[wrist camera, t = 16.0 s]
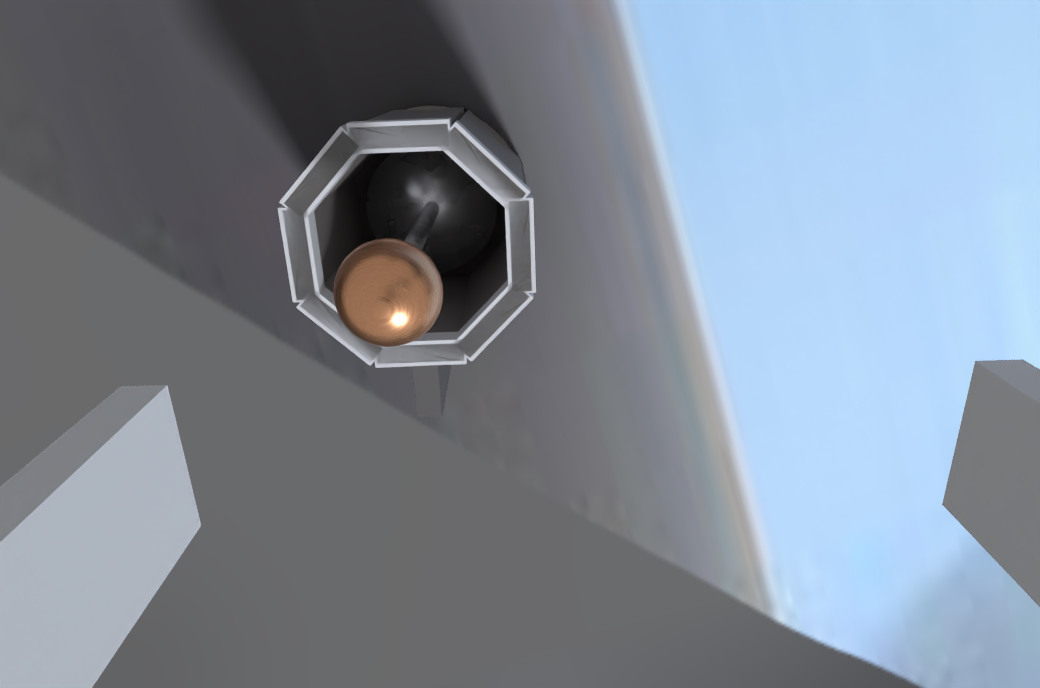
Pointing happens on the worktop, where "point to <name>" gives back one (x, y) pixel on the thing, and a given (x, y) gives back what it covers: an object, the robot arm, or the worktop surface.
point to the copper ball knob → (411, 246)
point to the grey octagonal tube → (344, 226)
